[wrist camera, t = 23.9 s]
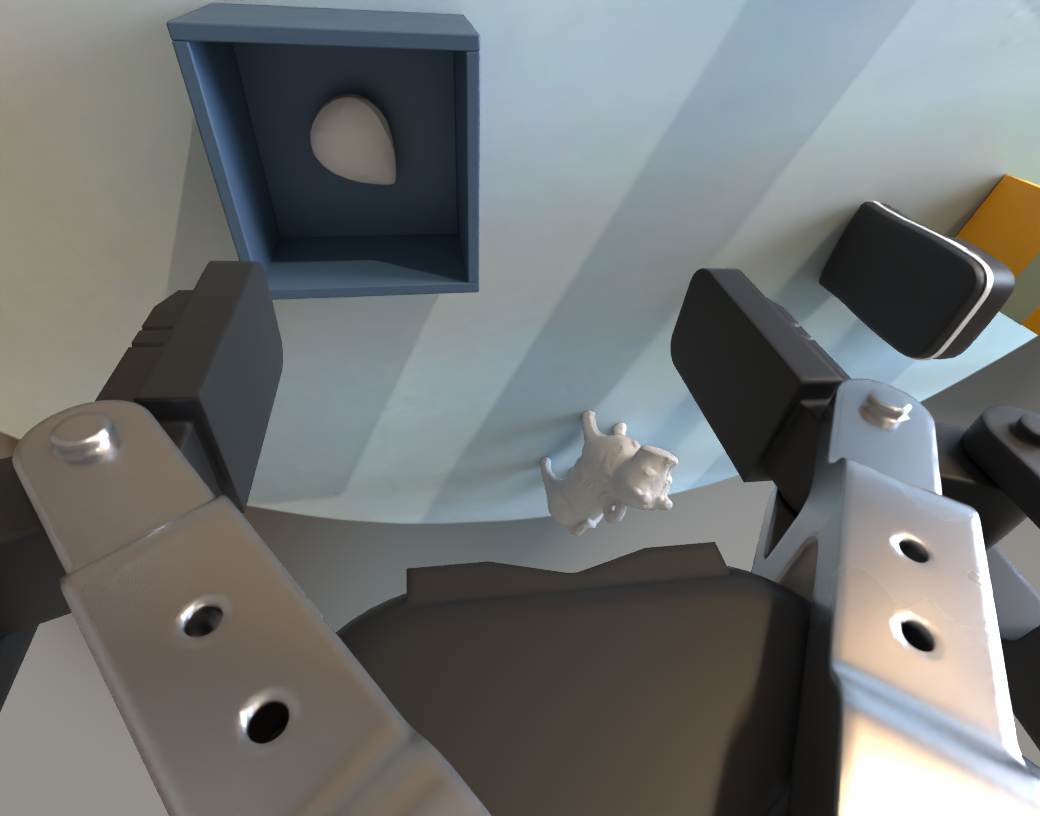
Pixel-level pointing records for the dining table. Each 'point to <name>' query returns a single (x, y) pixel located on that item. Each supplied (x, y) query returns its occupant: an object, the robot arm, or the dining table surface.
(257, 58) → the blue open box
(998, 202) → the orange juice
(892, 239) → the battery charger
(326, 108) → the cream rounded dome
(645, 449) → the dog figurine
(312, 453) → the dining table surface
